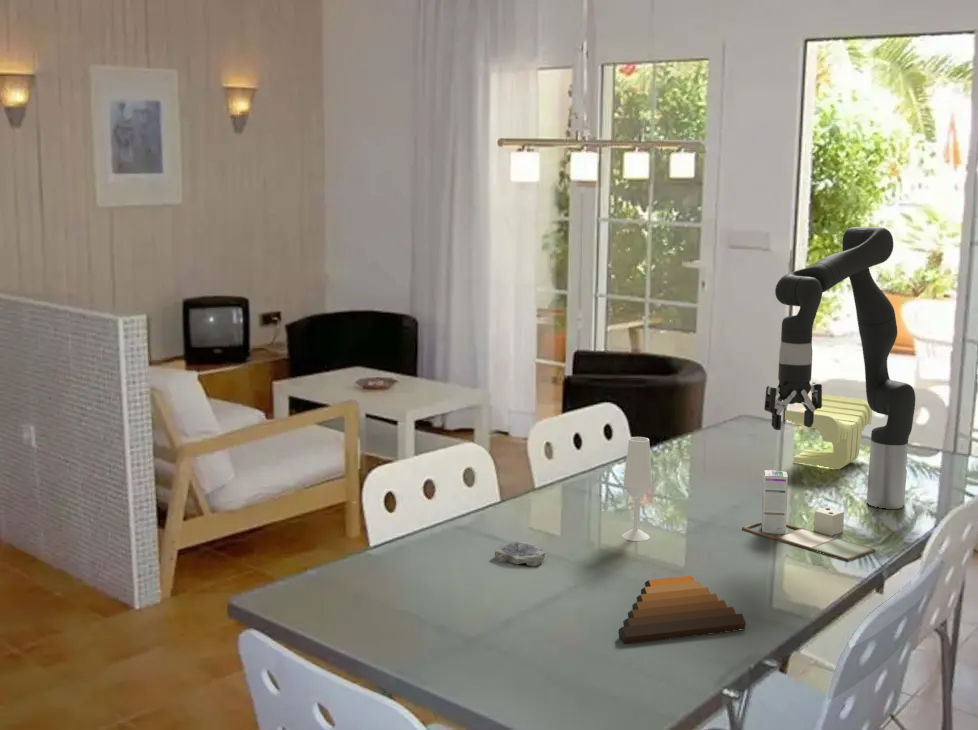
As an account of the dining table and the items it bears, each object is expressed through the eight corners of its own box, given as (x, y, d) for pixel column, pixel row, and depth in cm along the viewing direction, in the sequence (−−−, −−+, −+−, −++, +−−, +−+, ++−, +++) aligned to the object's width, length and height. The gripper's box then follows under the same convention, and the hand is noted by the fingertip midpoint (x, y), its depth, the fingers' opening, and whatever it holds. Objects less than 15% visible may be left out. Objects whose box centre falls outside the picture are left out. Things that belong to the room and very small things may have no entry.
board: (769, 520, 291) (769, 518, 291) (874, 551, 270) (874, 548, 269) (742, 529, 284) (742, 527, 284) (848, 561, 262) (848, 559, 262)
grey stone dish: (489, 552, 258) (503, 530, 267) (489, 567, 260) (503, 545, 268) (538, 562, 255) (551, 540, 264) (537, 578, 256) (550, 555, 265)
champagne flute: (653, 534, 280) (657, 437, 275) (644, 542, 274) (648, 443, 269) (626, 530, 282) (629, 434, 278) (617, 538, 276) (621, 440, 272)
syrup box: (786, 534, 281) (789, 476, 278) (760, 532, 282) (764, 475, 279) (784, 527, 286) (788, 470, 284) (760, 525, 287) (763, 469, 285)
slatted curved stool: (835, 478, 331) (839, 417, 328) (781, 469, 340) (785, 410, 337) (868, 457, 355) (872, 400, 352) (817, 449, 364) (821, 393, 361)
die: (825, 526, 287) (826, 506, 286) (842, 531, 284) (844, 511, 283) (813, 530, 284) (814, 510, 283) (831, 535, 280) (832, 515, 279)
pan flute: (625, 647, 216) (745, 633, 223) (626, 630, 215) (746, 616, 223) (577, 599, 240) (687, 587, 247) (578, 583, 239) (688, 572, 246)
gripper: (811, 356, 278) (808, 422, 281) (760, 359, 273) (757, 426, 276) (830, 361, 271) (827, 429, 274) (778, 365, 266) (775, 434, 269)
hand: (792, 427), depth 275 cm, fingers open, 8 cm apart
